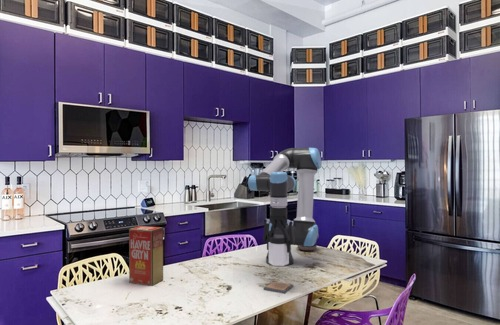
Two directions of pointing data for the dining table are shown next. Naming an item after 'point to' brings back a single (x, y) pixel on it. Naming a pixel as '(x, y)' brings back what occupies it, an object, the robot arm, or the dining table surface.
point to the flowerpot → (308, 247)
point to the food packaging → (146, 255)
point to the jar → (277, 250)
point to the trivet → (278, 287)
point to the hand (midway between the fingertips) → (278, 258)
